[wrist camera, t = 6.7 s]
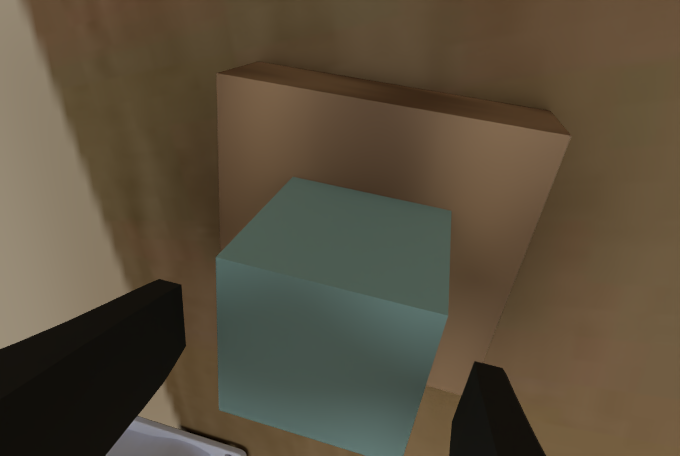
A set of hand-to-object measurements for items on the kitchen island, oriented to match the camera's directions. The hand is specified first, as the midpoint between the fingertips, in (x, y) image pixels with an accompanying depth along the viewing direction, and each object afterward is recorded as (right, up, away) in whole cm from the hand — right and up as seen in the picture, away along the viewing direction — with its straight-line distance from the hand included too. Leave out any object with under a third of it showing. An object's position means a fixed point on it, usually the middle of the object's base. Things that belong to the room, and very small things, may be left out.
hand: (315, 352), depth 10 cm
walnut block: (+2, +4, +7) cm, 8 cm away
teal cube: (+1, +2, +4) cm, 5 cm away
